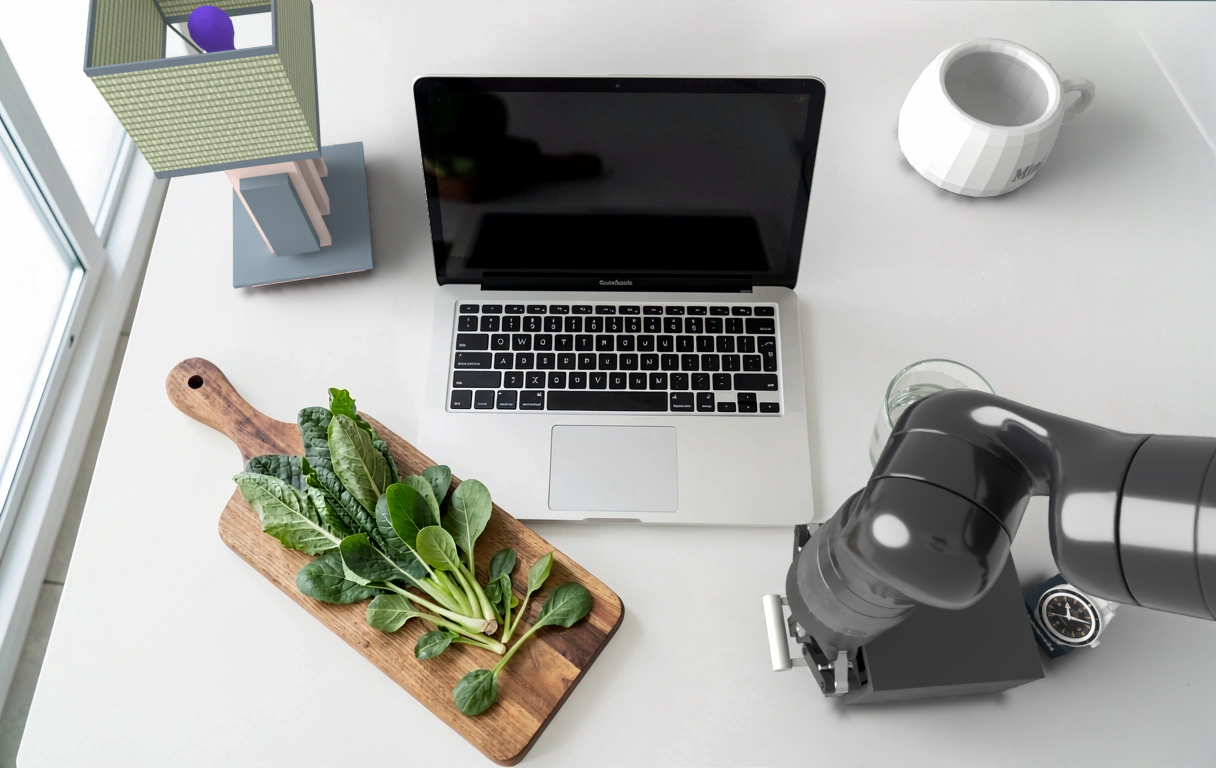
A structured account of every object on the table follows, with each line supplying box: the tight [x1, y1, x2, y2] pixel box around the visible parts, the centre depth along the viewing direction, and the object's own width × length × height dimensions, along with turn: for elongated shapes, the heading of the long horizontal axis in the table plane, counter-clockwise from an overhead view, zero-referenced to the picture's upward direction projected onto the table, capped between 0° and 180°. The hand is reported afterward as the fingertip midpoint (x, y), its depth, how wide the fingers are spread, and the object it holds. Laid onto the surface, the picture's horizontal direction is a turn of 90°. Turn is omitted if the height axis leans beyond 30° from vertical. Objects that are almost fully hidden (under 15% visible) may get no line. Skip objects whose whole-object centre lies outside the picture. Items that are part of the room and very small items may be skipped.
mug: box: [897, 37, 1096, 198], centre depth 100 cm, size 21×17×10 cm
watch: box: [1023, 572, 1122, 661], centre depth 76 cm, size 6×8×11 cm
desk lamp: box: [82, 0, 374, 290], centre depth 84 cm, size 18×14×33 cm
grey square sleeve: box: [841, 549, 1046, 706], centre depth 76 cm, size 14×11×9 cm
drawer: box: [762, 593, 868, 699], centre depth 76 cm, size 18×10×7 cm, turn 94°
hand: (800, 627), depth 74 cm, fingers closed
